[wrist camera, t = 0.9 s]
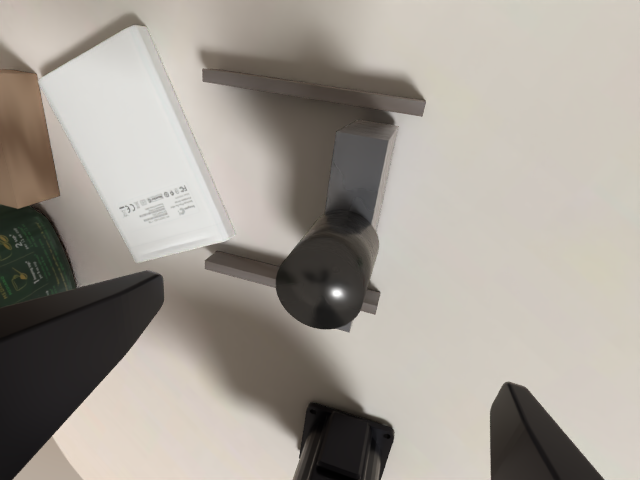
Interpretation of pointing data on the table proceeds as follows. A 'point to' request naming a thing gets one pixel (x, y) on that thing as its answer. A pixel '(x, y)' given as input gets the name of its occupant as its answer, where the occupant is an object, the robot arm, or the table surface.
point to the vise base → (28, 115)
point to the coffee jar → (30, 257)
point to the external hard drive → (138, 146)
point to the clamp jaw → (341, 232)
